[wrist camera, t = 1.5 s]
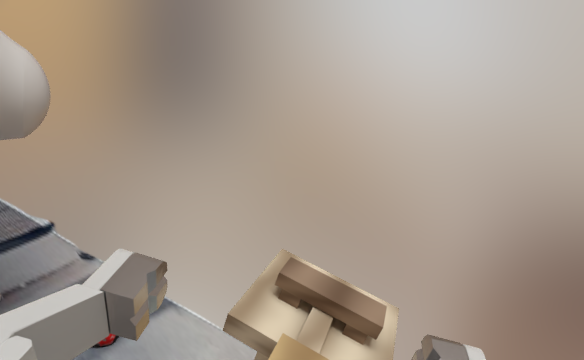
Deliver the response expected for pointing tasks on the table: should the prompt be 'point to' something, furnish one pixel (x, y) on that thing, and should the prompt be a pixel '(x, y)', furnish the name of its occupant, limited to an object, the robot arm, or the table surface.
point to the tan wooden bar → (305, 339)
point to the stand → (298, 304)
